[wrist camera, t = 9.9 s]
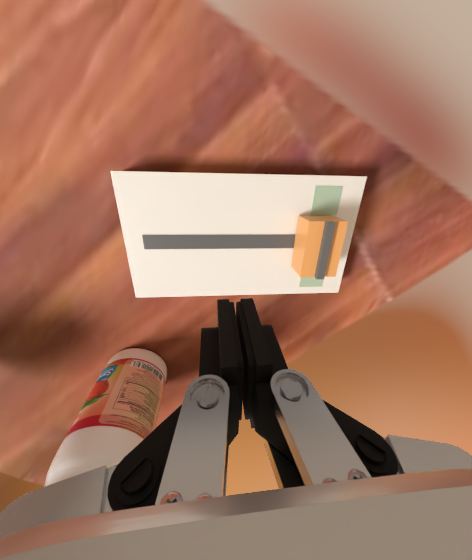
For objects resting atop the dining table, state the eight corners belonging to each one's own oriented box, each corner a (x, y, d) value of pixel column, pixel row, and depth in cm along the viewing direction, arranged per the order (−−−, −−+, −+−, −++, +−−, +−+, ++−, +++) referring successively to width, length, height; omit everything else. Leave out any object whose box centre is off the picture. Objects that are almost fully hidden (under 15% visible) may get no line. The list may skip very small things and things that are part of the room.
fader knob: (291, 266, 27) (302, 279, 24) (298, 215, 25) (311, 222, 21) (322, 265, 27) (338, 279, 24) (333, 215, 25) (351, 222, 21)
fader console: (142, 286, 30) (135, 297, 27) (121, 170, 24) (109, 170, 21) (327, 282, 32) (338, 292, 30) (351, 175, 26) (367, 176, 24)
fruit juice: (165, 390, 39) (78, 778, 14) (108, 385, 38) (-106, 816, 13) (171, 349, 35) (65, 785, 10) (107, 342, 34) (-203, 839, 9)
